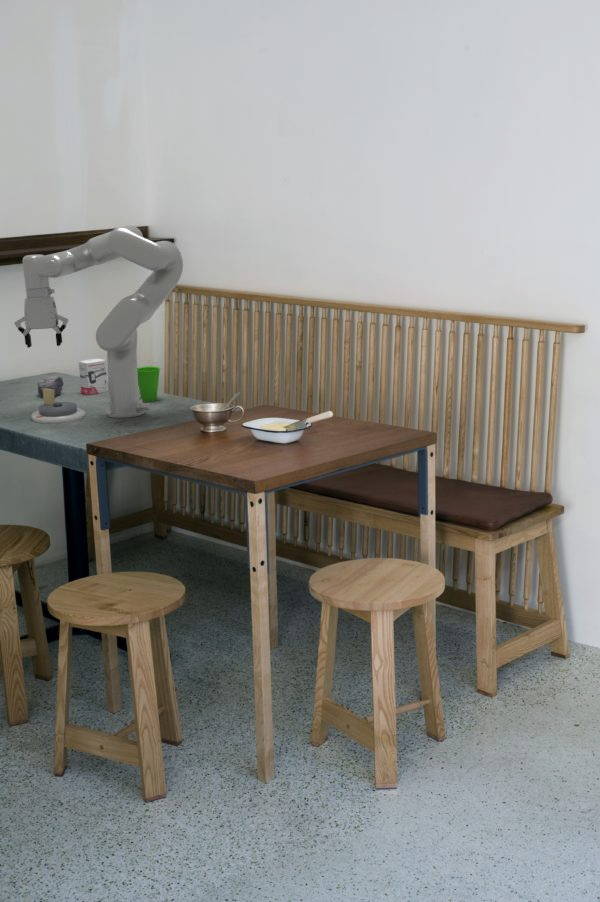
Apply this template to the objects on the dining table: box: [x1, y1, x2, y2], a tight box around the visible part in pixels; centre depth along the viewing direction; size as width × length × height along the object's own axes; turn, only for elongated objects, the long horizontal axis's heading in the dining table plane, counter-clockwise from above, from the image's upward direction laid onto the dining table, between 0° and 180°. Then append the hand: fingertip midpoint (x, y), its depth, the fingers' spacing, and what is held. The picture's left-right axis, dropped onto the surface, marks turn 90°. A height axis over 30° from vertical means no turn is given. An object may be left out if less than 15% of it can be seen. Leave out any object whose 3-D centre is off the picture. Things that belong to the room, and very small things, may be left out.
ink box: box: [78, 357, 109, 396], centre depth 394 cm, size 8×5×12 cm, turn 134°
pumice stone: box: [37, 375, 64, 398], centre depth 391 cm, size 10×8×10 cm
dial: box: [38, 388, 78, 416], centre depth 356 cm, size 12×12×7 cm
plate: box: [30, 407, 86, 424], centre depth 357 cm, size 17×17×2 cm
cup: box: [137, 365, 161, 403], centre depth 379 cm, size 9×9×11 cm
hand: (44, 346), depth 358 cm, fingers open, 9 cm apart
